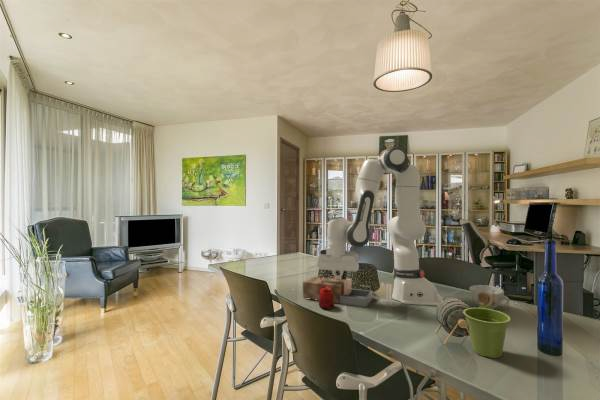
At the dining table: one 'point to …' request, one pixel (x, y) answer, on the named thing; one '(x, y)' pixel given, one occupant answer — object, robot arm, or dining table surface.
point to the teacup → (488, 290)
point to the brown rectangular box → (315, 285)
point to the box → (357, 297)
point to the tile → (347, 286)
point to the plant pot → (487, 330)
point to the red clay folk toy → (326, 297)
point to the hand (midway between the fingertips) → (338, 279)
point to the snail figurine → (485, 300)
